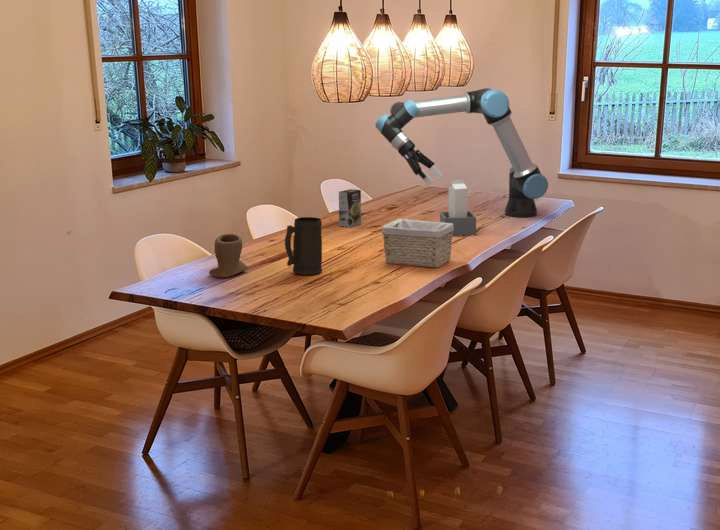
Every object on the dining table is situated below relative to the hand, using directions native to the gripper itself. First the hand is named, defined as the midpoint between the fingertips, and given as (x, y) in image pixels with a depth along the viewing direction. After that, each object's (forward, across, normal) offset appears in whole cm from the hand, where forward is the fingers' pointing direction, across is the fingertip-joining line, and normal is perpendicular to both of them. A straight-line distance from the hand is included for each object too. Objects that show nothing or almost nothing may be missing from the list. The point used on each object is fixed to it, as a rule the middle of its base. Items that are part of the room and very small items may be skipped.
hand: (436, 180), depth 371 cm
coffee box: (-13, +1, -45) cm, 47 cm away
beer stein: (0, +82, -32) cm, 88 cm away
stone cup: (-17, +93, -50) cm, 107 cm away
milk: (+22, 0, -8) cm, 24 cm away
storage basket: (+24, +52, -8) cm, 58 cm away
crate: (+23, 0, -9) cm, 24 cm away
